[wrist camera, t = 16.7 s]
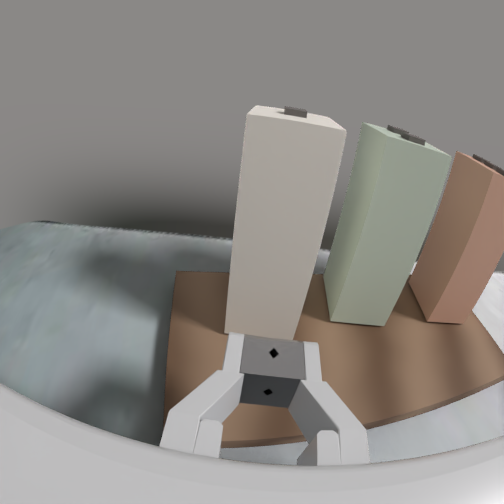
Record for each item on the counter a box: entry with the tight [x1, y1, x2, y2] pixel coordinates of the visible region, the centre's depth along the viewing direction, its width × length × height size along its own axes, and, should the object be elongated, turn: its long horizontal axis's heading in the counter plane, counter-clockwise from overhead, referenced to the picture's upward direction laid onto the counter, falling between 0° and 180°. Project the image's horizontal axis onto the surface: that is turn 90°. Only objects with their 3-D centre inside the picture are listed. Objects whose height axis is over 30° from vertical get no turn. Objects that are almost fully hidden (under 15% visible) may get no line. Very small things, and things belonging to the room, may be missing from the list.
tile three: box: [409, 151, 504, 324], centre depth 19 cm, size 5×4×12 cm
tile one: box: [224, 105, 347, 340], centre depth 16 cm, size 5×4×12 cm
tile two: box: [323, 122, 452, 326], centre depth 18 cm, size 5×4×12 cm
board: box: [163, 271, 504, 448], centre depth 19 cm, size 25×13×1 cm, turn 97°
